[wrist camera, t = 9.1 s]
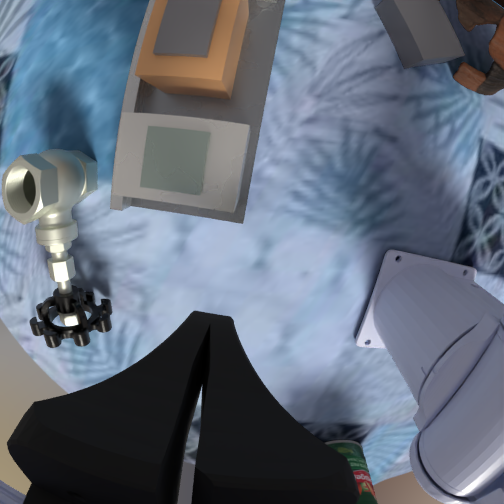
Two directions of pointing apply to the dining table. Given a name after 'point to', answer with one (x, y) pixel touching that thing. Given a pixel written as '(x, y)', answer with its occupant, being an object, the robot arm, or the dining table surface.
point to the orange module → (193, 46)
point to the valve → (57, 236)
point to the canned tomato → (357, 468)
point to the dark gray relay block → (419, 31)
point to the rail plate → (229, 108)
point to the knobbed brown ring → (500, 46)
